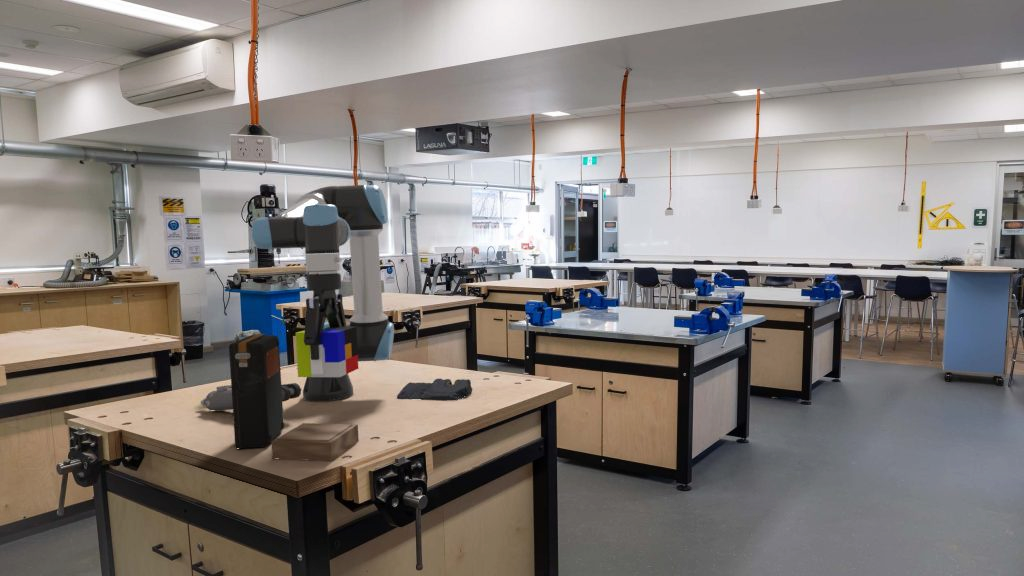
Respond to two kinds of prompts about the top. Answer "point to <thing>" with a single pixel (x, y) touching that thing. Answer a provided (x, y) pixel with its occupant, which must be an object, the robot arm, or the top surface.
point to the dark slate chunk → (436, 390)
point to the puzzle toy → (330, 352)
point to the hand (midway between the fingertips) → (328, 369)
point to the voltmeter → (256, 390)
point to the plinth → (315, 441)
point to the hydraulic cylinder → (224, 396)
